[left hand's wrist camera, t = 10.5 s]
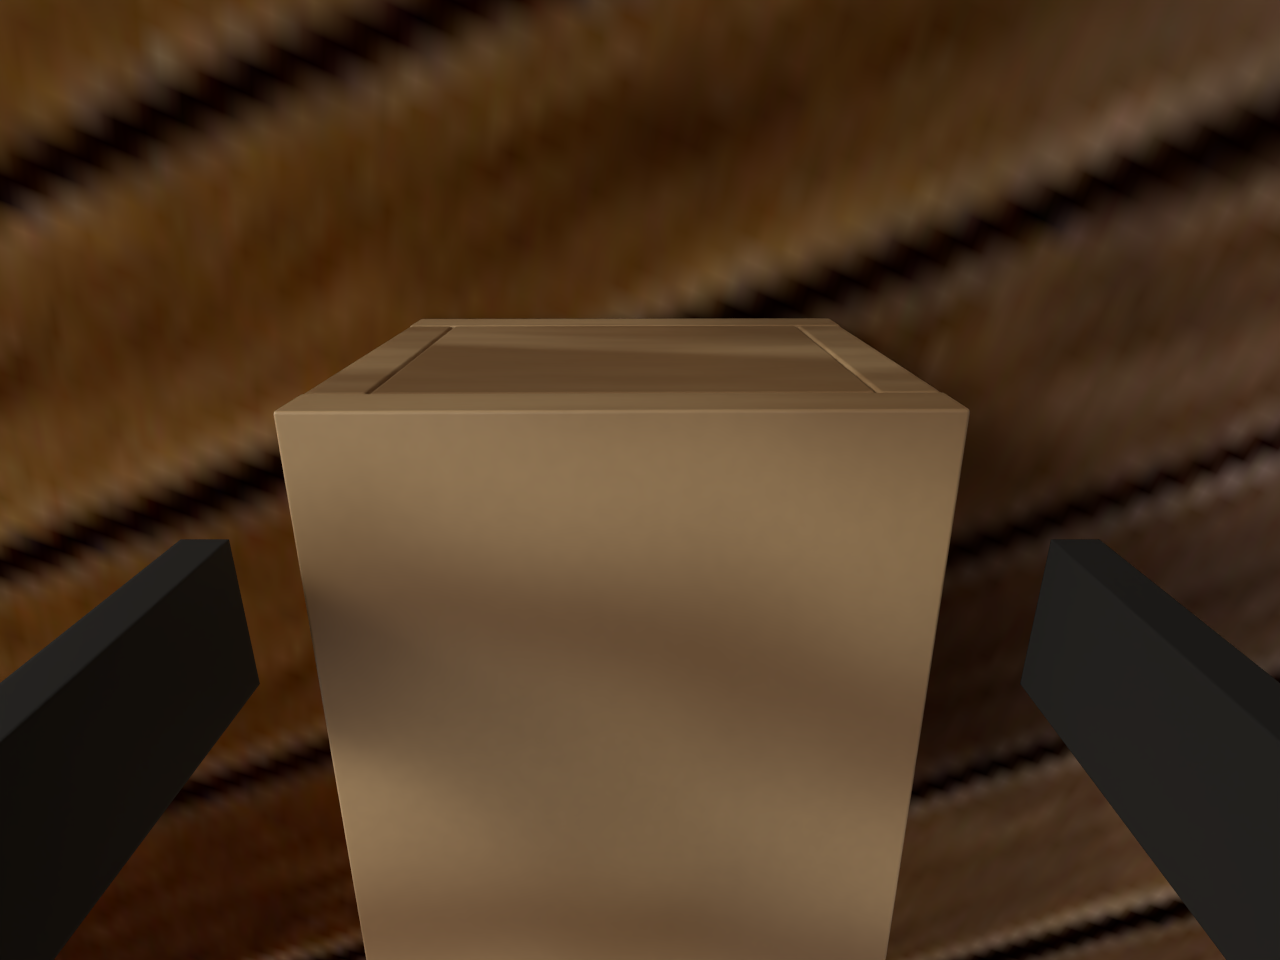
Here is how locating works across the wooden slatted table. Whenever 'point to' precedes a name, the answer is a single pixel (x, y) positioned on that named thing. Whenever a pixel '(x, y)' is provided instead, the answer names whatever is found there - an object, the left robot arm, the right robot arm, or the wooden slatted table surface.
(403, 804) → the cabinet
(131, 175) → the wooden slatted table surface
